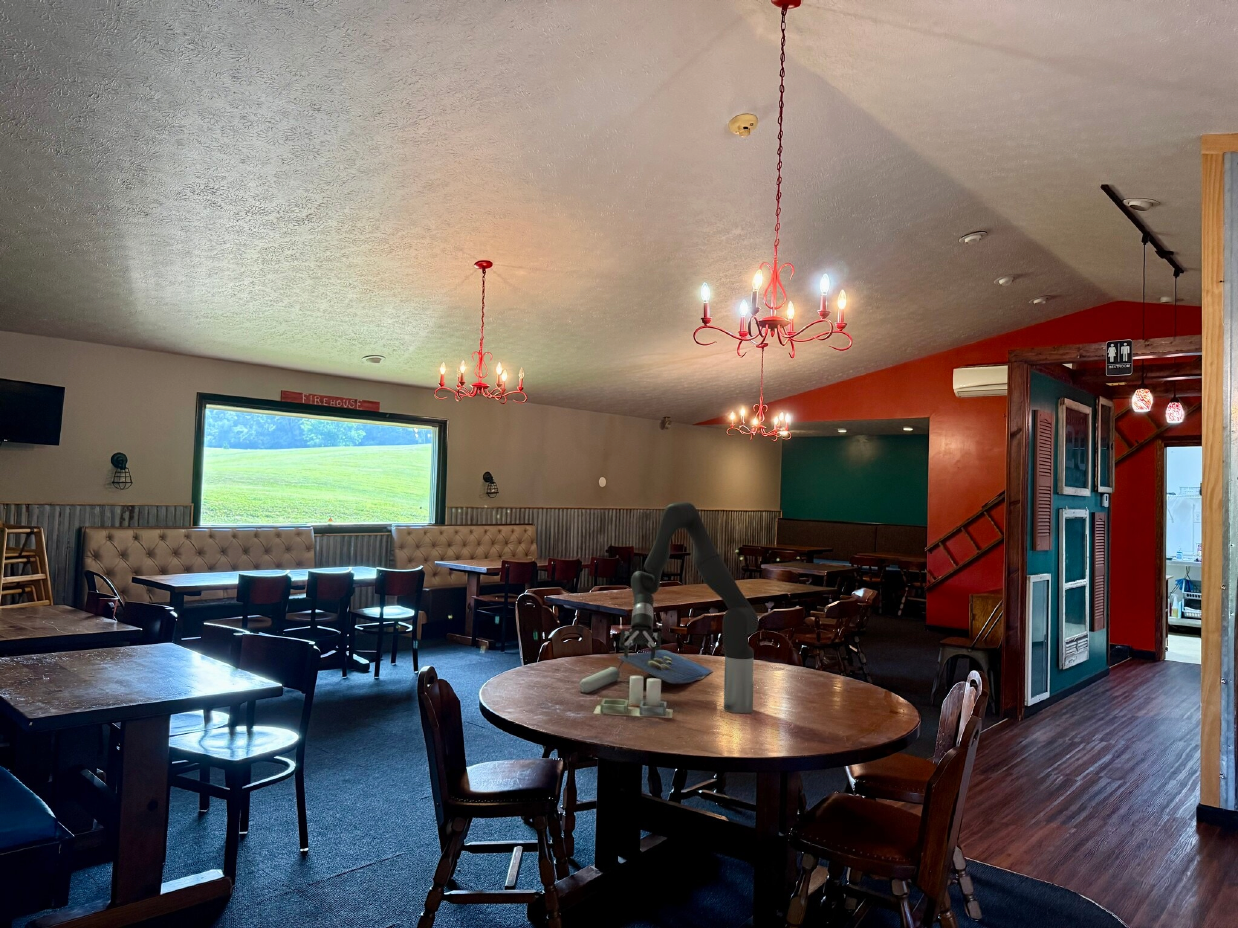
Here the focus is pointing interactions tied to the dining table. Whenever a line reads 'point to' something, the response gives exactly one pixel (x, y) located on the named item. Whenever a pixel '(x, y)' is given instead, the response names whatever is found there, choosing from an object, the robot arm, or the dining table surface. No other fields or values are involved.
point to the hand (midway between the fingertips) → (639, 657)
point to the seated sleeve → (653, 692)
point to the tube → (599, 679)
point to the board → (632, 709)
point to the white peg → (636, 690)
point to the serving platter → (667, 666)
